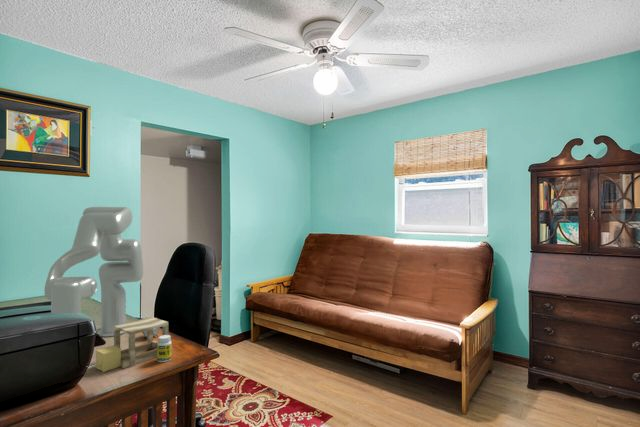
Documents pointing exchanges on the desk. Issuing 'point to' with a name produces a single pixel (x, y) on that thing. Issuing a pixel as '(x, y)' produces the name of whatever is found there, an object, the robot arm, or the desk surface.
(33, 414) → the desk surface
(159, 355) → the supplement bottle
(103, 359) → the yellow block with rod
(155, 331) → the game die
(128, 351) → the birch shelf
